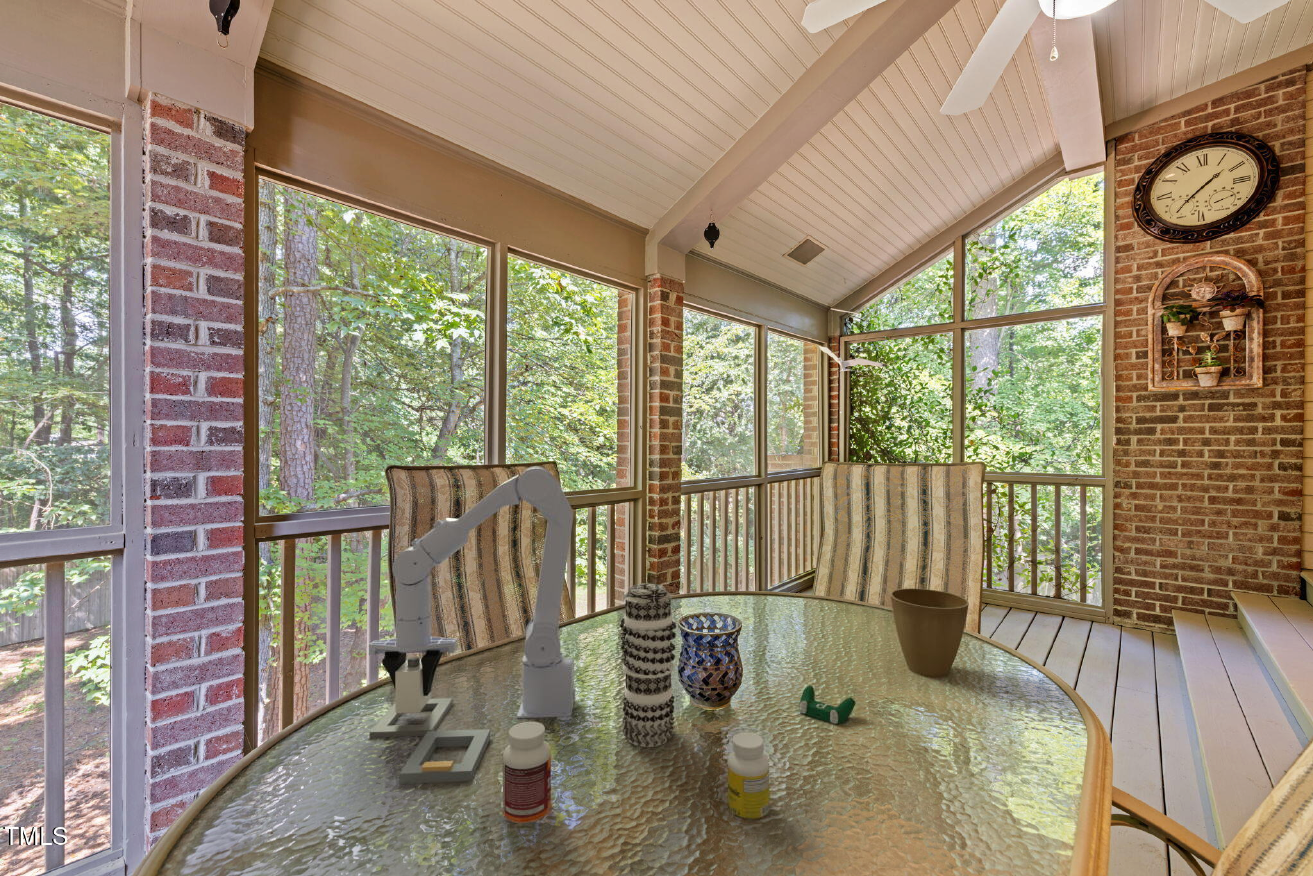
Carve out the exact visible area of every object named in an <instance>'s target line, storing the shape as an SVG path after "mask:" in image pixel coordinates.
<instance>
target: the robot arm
mask: <svg viewBox="0 0 1313 876" xmlns="http://www.w3.org/2000/svg"><path fill="white" fill-rule="evenodd" d="M522 500H523V501H525V502H526V503H528V504H529V505H531V506H533V507H534V508H535V509H537V510H538V511H539V513H541V515H542V516H543V517H544V518H545V519H546V521H547V524H546V530H545V538H544V544H543V550H542V557H541V563H540V569H539V577H538V584H537V590H536V597H535V604H534V608H533V614H532V617H531V620H530V621H529V622H528V623H527V626H526V628H525V642H524V646H523V647H524V648H523V649H524V650H523V651H524V655H523V656H522V660H521V661H522V667H521V668H522V674H521V675H522V679H521V680H522V686H521V687H522V692H521V693H522V701H521V703H520V706H519V709H518V711H517V714H516V718H517V719H534V718H537V719H538V718H562V717H563V718H565V717H566V718H567V717H571V716H572V714H573V708H574V701H576V689H575V660H574V658H570V657H569V658H568V657H564V656H563V653H562V652H561V647H562V646H561V645H562V644H561V641H560V628H559V623H560V622H559V621H560V612H561V611H560V610H561V602H562V596H563V595H562V594H563V588H564V583H565V574H566V569H567V561H568V555H569V549H570V541H571V535H572V530H573V522H574V521H573V520H574V510H573V508H572V506H571V504H570V502H569V501H568V499H567V496H566V494H565V493H564V491H563V488H562V487H561V484H560V482H559V481H558V479H557V478H556V477H555V476H554V475H553V474H552V473H551V472H550V471H549V470H547V468H545V467H544V466H543V467H542V466H539V465H536V466H534V465H533V466H530V467H527V468H526V469H525V470H524V471H523V472H522V473H521V475H520V474H517V475H514V476H513V477H511V478H510V479H507V480H506V481H505V482H503V483H501V484H499V485H498V486H497V487H496V488H494V489H493V490H492V491H491V492H489V493H488V494H487V495H486V496H484V497H483V498H482V499H480V501H478V502H477V503H476V504H475V505H473V506H472V507H471V508H470V509H468V510H467V511H466V512H465V513H463V514H462V515H461V516H460V517H458V518H453V517H446V518H445V519H443V520H441V519H438V520H437V521H436V522H435V523H433V525H432V526H433V528H432V529H431V530H430V531H428V532H427V533H425V534H424V535H423V536H422V537H420V538H419V539H418V538H415V539H413V540H412V541H411V542H410V544H411V546H409V547H408V548H406V549H404V550H403V551H401V552H400V553H399V554H398V555H397V556H396V557H395V559H394V561H393V563H392V567H391V568H392V569H391V571H392V575H393V576H394V577H393V578H395V580H396V582H395V583H396V584H395V585H396V588H395V589H396V591H395V638H389V639H380V640H373V641H372V642H370V643H369V644H368V656H376V655H380V654H381V655H382V654H384V656H383V658H382V660H381V664H382V666H383V667H384V668H385V670H386V671H387V674H388V675H389V677H390V680H391V682H392V686H393V688H394V692H395V693H394V694H396V691H395V672H396V671H397V670H398V669H399V668H400V667H401V666H402V665H403V664H404V663H405V662H406V661H407V654H415V653H416V654H417V653H425V654H424V655H423V656H422V657H421V658H420V659H421V664H422V670H423V695H424V696H428V694H429V693H430V692H431V693H432V687H433V682H434V678H435V677H434V676H435V674H436V672H437V668H438V666H439V663H440V661H441V659H442V656H443V654H444V653H448V654H455V652H456V651H457V650H458V638H453V637H451V638H447V637H439V636H432V587H431V574H430V572H431V571H432V569H433V568H434V567H437V566H440V565H441V564H442V563H444V562H445V561H446V560H447V559H449V558H450V557H451V556H453V554H455V553H456V552H457V551H459V550H460V549H461V548H463V547H464V546H465V545H467V544H468V542H469V534H470V532H471V531H472V530H474V529H475V528H476V527H477V526H479V525H481V524H482V523H484V522H485V521H486V520H488V519H489V518H490V517H491V516H493V515H495V513H497V512H498V511H499V510H501V509H503V508H504V507H505V506H514V505H520V504H521V502H522Z"/></svg>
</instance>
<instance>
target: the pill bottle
mask: <svg viewBox="0 0 1313 876" xmlns="http://www.w3.org/2000/svg"><path fill="white" fill-rule="evenodd" d="M545 739H546V728H545V725H544V724H543V723H541V722H538V721H523V722H520V723H517V724H515V725H513V726H511V727H510V728H509V731H508V740H507V741H508V745H507V746H506V748H505V749H504V752H503V755H502V813H503V816H504V818H505V819H506V820H507V821H509V822H512V823H515V824H527V823H533V822H535V821H538V820H540V819H542V818H543V817H546V815H547V814H548V813H549V812H550V810H551V807H552V766H551V765H552V753H551V752H552V750H551V746H550V744H549V743H548V742H547V741H546V740H545Z"/></svg>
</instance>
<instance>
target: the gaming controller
mask: <svg viewBox="0 0 1313 876" xmlns="http://www.w3.org/2000/svg"><path fill="white" fill-rule="evenodd" d="M815 695H816V692H815V689H814V687H813V686H812V685H809V686H806V687H805V688H804V689H803V691H802V694H801V696H800V700H799V706H798V710H799V713H800V714H801V715H804V716H806V717H811V718H812V719H816V720H820V721H823V722H825V723H829V724H831V725H832V724H833V725H837V726H838V725H841V724H844V723H845V722H846V720H848V719H849V717H850V715H852V712H853V711H854V708H855V706H856V701H855V700H854V699H853V697H847V698H845V699H844V700H843V701H841V702H840V704H838V705H837V706H834V705H830V704H828V703H824V702H821V701H817V700H816V699H815Z"/></svg>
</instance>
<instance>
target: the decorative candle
mask: <svg viewBox="0 0 1313 876" xmlns="http://www.w3.org/2000/svg"><path fill="white" fill-rule="evenodd" d="M622 597H623V598H622V599H624V600H625V603H624V604H625V608H624V609H625V613H624V618H622V619H621V620H620V624H619V627H620V628H621V631H622V632H621V633H620V635H621V636H620V640H621V645H620V649H621V650H622V655H621V657H622V658H621V662H622V663H623V664H622V671H623V672H624V673H625V683H624V694H623V696H622V702H623V707H622V712H623V717H622V719H621V720H622V724H623V727H622V730H621V731H622V733H623V735H624V737H625V739H627V741H628V742H629V743H630V744H631V745H632V744H633V745H635V746H637V747H643V748H651V747H657V746H662V745H663V744H666V743H667V742H668V741H669V740H670V739H671V738H672V736H673V735H674V734H675V731H674V730H675V726H674V725H675V721H674V720H675V717H674V712H675V706H674V703H675V696H674V694H673V685H672V684H673V683H672V673H673V671H674V670H675V667H674V662H673V661H674V660H675V658H676V655H675V654H674V653H673V652H674V651H675V650H676V645H675V644H674V643H672V642H671V640H673V639H675V638H676V637H677V636H676V635H677V634H676V632H675V631H673V630H674V629H677V624H676V623H677V622H675V621H673V614H672V606H671V605H672V598H673V594H672V593H670V592H668V590H667V589H666V587H665V586H663V585H661V584H658V583H651V582H648V583H647V582H646V583H645V582H644V583H638V584H634V585H632V586H631V587H630V588H629V589H628V591H627V592H626V593H625V594H623V595H622Z"/></svg>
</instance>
